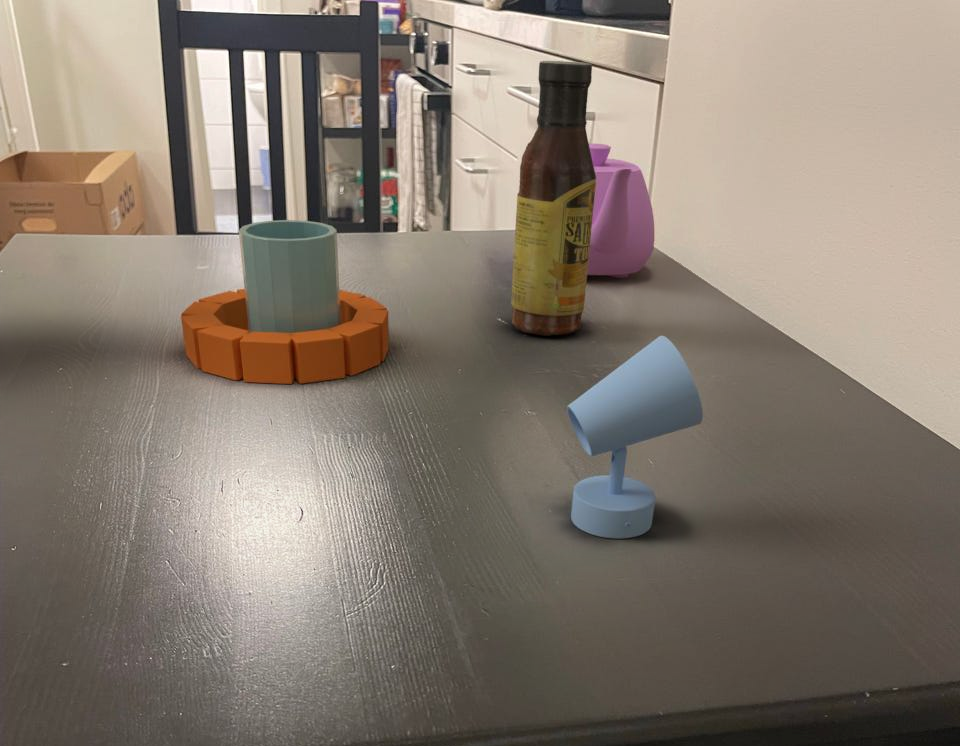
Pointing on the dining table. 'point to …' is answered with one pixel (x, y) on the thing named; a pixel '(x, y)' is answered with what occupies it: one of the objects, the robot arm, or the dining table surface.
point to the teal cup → (290, 276)
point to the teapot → (619, 217)
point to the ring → (284, 342)
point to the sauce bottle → (555, 207)
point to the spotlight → (629, 435)
